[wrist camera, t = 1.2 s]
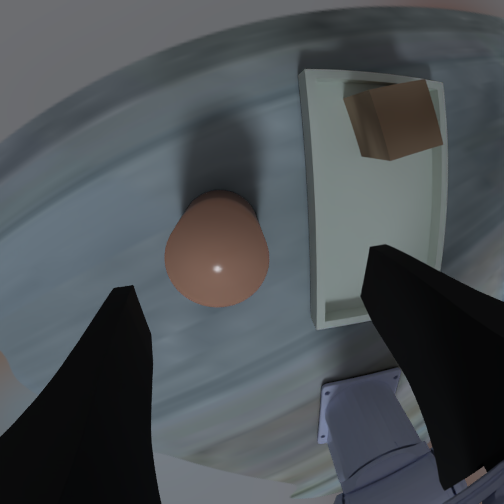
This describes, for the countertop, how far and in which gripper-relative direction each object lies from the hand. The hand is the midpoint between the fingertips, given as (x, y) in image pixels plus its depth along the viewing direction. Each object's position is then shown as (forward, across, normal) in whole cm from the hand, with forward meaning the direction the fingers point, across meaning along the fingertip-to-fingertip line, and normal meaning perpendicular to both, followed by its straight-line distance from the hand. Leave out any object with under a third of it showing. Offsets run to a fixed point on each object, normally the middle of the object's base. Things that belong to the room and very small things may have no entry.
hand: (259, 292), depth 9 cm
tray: (+10, -11, +3) cm, 15 cm away
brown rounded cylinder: (+11, 0, +4) cm, 12 cm away
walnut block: (+11, -11, -3) cm, 15 cm away
